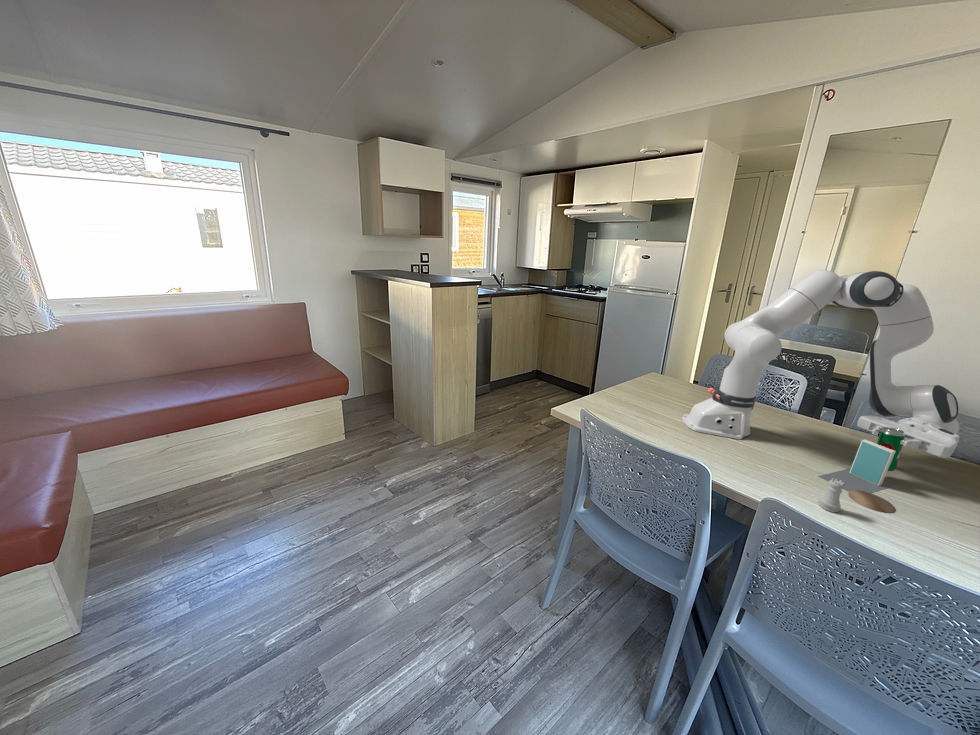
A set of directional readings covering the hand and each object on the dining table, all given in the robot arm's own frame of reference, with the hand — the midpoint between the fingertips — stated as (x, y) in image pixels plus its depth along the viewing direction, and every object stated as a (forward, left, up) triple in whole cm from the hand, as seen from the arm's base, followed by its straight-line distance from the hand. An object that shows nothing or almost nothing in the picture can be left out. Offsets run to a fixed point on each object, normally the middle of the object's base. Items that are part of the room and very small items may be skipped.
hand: (888, 438), depth 110 cm
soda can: (+1, -1, -10) cm, 10 cm away
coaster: (-11, -15, -13) cm, 22 cm away
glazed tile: (-4, -2, -13) cm, 13 cm away
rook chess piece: (-24, -20, -13) cm, 34 cm away
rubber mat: (-8, -5, -13) cm, 16 cm away
